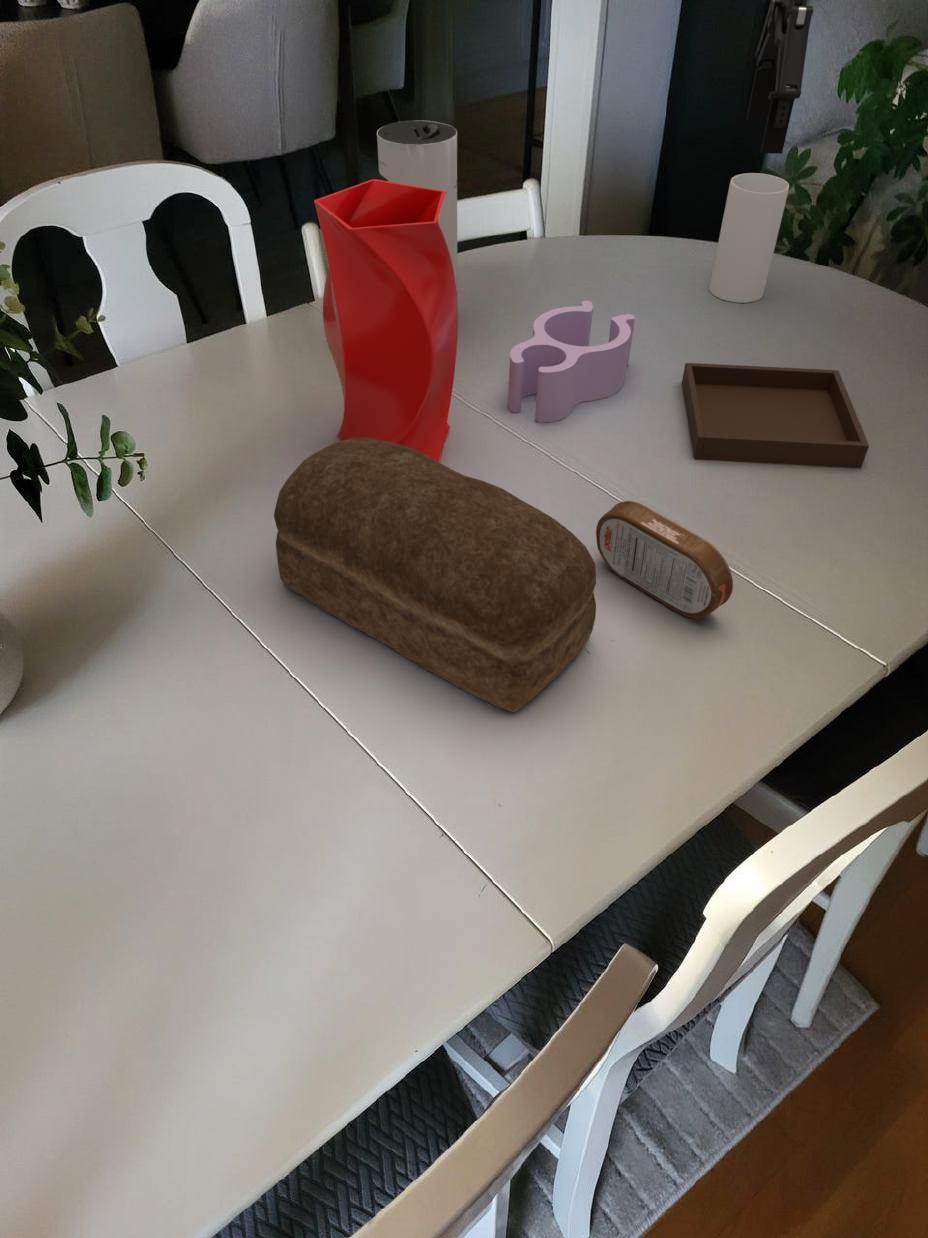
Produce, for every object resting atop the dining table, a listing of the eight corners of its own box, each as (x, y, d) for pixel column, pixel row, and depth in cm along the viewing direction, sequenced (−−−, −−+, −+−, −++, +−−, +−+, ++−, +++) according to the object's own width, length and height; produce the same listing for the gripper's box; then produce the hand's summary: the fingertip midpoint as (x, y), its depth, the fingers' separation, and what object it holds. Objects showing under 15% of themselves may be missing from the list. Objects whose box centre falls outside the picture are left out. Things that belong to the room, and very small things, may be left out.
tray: (831, 391, 124) (838, 370, 122) (861, 468, 111) (869, 445, 109) (681, 383, 125) (685, 362, 123) (693, 458, 112) (698, 436, 110)
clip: (566, 433, 116) (571, 382, 111) (484, 401, 121) (485, 351, 116) (644, 368, 127) (652, 320, 123) (566, 342, 133) (570, 294, 128)
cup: (706, 298, 143) (727, 189, 132) (712, 276, 149) (733, 170, 138) (761, 306, 142) (787, 196, 130) (765, 283, 147) (791, 176, 136)
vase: (476, 436, 115) (481, 200, 96) (406, 493, 107) (395, 247, 87) (379, 398, 121) (365, 170, 102) (305, 450, 113) (274, 211, 93)
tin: (725, 621, 92) (744, 554, 86) (706, 637, 90) (724, 570, 85) (606, 549, 100) (615, 484, 94) (586, 563, 98) (595, 497, 92)
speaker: (390, 304, 141) (381, 113, 123) (459, 305, 141) (460, 115, 123) (383, 337, 133) (372, 139, 115) (456, 339, 133) (457, 141, 115)
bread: (360, 514, 104) (349, 385, 93) (609, 640, 90) (631, 506, 79) (263, 583, 95) (239, 451, 84) (522, 734, 81) (533, 600, 70)
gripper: (756, -70, 124) (724, 107, 139) (789, -34, 106) (748, 165, 121) (814, -68, 124) (776, 109, 138) (857, -32, 106) (807, 167, 120)
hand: (763, 136), depth 129 cm, fingers open, 13 cm apart
